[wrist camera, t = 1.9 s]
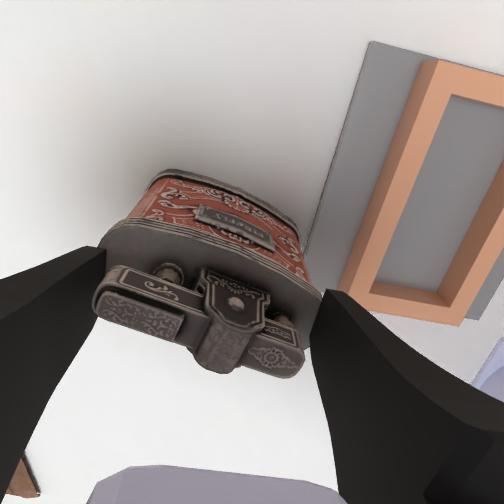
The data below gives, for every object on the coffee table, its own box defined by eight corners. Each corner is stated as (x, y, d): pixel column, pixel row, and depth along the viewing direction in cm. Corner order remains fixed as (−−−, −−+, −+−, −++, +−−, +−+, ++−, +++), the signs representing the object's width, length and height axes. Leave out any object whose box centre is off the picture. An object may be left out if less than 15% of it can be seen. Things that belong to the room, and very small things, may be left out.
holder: (596, 102, 17) (638, 105, 15) (473, 315, 22) (494, 336, 20) (369, 42, 16) (386, 37, 14) (294, 282, 21) (300, 302, 19)
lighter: (310, 219, 19) (371, 348, 10) (280, 271, 20) (311, 427, 11) (161, 153, 17) (75, 236, 8) (139, 214, 19) (44, 343, 10)
